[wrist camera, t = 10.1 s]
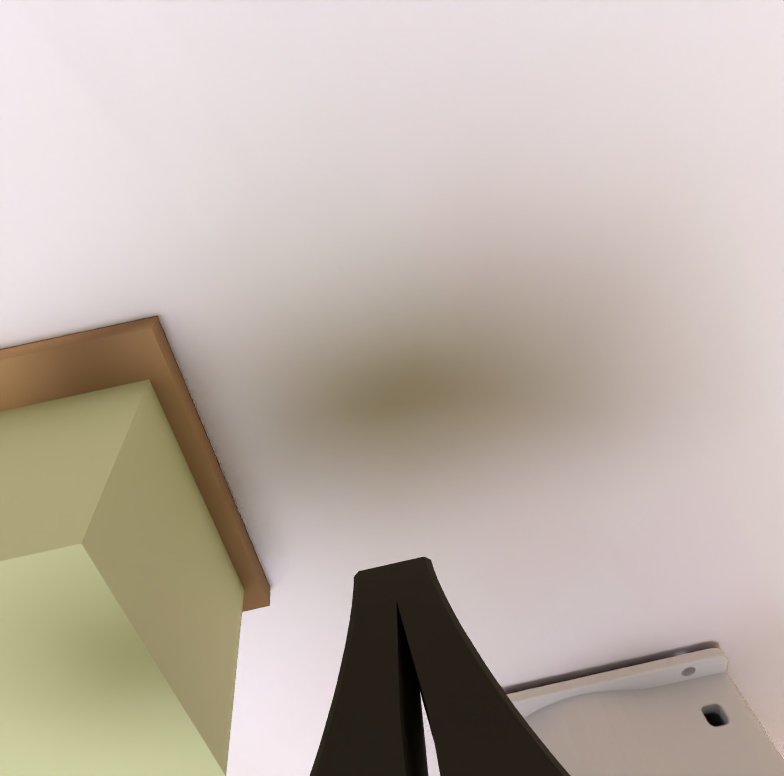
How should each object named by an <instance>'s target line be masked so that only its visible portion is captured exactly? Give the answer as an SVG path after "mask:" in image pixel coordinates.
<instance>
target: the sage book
mask: <svg viewBox="0 0 784 776" xmlns="http://www.w3.org/2000/svg"><path fill="white" fill-rule="evenodd" d="M243 596H244V589H243V586H242V584H241V582H240V580H239V577H238V575H237V573H236V571H235V569H234V566H233V564H232V562H231V560H230V557H229V555H228V553H227V551H226V549H225V546H224V544H223V542H222V540H221V538H220V535H219V533H218V531H217V529H216V526H215V524H214V522H213V520H212V518H211V515H210V513H209V511H208V509H207V506H206V504H205V502H204V500H203V498H202V495H201V493H200V491H199V489H198V487H197V484H196V482H195V480H194V478H193V475H192V473H191V471H190V469H189V467H188V464H187V462H186V460H185V458H184V455H183V453H182V451H181V449H180V447H179V444H178V442H177V440H176V438H175V435H174V433H173V431H172V429H171V427H170V424H169V422H168V420H167V418H166V416H165V413H164V411H163V409H162V407H161V404H160V402H159V400H158V398H157V396H156V393H155V391H154V389H153V387H152V384H151V382H150V380H149V379H148V380H144V381H139V382H134V383H130V384H125V385H121V386H116V387H111V388H107V389H102V390H98V391H93V392H88V393H84V394H79V395H75V396H70V397H65V398H61V399H56V400H52V401H47V402H42V403H38V404H33V405H29V406H24V407H19V408H15V409H10V410H6V411H1V412H0V776H226V770H227V760H228V750H229V740H230V729H231V719H232V709H233V699H234V689H235V678H236V668H237V658H238V648H239V637H240V627H241V617H242V607H243Z"/></svg>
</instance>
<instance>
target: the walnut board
mask: <svg viewBox="0 0 784 776" xmlns="http://www.w3.org/2000/svg"><path fill="white" fill-rule="evenodd" d="M148 379H149V380H150V382H151V384H152V387H153V389H154V391H155V393H156V396H157V398H158V400H159V402H160V404H161V407H162V409H163V411H164V413H165V416H166V418H167V420H168V422H169V424H170V427H171V429H172V431H173V433H174V435H175V438H176V440H177V442H178V444H179V447H180V449H181V451H182V453H183V455H184V458H185V460H186V462H187V464H188V467H189V469H190V471H191V473H192V475H193V478H194V480H195V482H196V484H197V487H198V489H199V491H200V493H201V495H202V498H203V500H204V502H205V504H206V506H207V509H208V511H209V513H210V515H211V518H212V520H213V522H214V524H215V526H216V529H217V531H218V533H219V535H220V538H221V540H222V542H223V544H224V546H225V549H226V551H227V553H228V555H229V557H230V560H231V562H232V564H233V566H234V569H235V571H236V573H237V575H238V577H239V580H240V582H241V584H242V586H243V589H244V596H243V607H242V612H243V611H248V610H252V609H257V608H261V607H266V606H270V587H269V585H268V582H267V580H266V577H265V575H264V573H263V570H262V568H261V565H260V563H259V561H258V558H257V556H256V553H255V551H254V548H253V546H252V544H251V541H250V539H249V536H248V534H247V532H246V529H245V527H244V524H243V522H242V520H241V517H240V515H239V512H238V510H237V508H236V505H235V503H234V500H233V498H232V496H231V493H230V491H229V488H228V486H227V484H226V481H225V479H224V476H223V474H222V471H221V469H220V467H219V464H218V462H217V459H216V457H215V455H214V452H213V450H212V447H211V445H210V443H209V440H208V438H207V435H206V433H205V431H204V428H203V426H202V423H201V421H200V419H199V416H198V414H197V411H196V409H195V407H194V404H193V402H192V399H191V397H190V394H189V392H188V390H187V387H186V385H185V382H184V380H183V378H182V375H181V373H180V370H179V368H178V366H177V363H176V361H175V358H174V356H173V354H172V351H171V349H170V346H169V344H168V342H167V339H166V337H165V334H164V332H163V330H162V327H161V325H160V322H159V320H158V317H157V316H156V317H151V318H147V319H142V320H137V321H133V322H128V323H123V324H119V325H114V326H109V327H105V328H100V329H95V330H91V331H86V332H81V333H77V334H72V335H67V336H63V337H58V338H53V339H49V340H44V341H39V342H35V343H30V344H26V345H21V346H16V347H12V348H7V349H2V350H0V412H1V411H6V410H10V409H15V408H19V407H24V406H29V405H33V404H38V403H42V402H47V401H52V400H56V399H61V398H65V397H70V396H75V395H79V394H84V393H88V392H93V391H98V390H102V389H107V388H111V387H116V386H121V385H125V384H130V383H134V382H139V381H144V380H148Z"/></svg>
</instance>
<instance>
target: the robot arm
mask: <svg viewBox="0 0 784 776" xmlns="http://www.w3.org/2000/svg"><path fill="white" fill-rule="evenodd" d="M727 666H728V658H727V656H726V655H725V653H724V652H723V651H722V650H721V649H719V648H709V649H705V650H700V651H696V652H691V653H687V654H682V655H678V656H674V657H669V658H665V659H660V660H656V661H651V662H647V663H643V664H638V665H634V666H629V667H625V668H621V669H616V670H612V671H607V672H603V673H598V674H594V675H590V676H585V677H581V678H576V679H572V680H567V681H563V682H559V683H554V684H550V685H545V686H541V687H537V688H532V689H528V690H523V691H519V692H514V693H510V694H506V693H505V692H504V690H503V689H502V688H501V686H500V685H499V683H498V682H497V681H496V679H495V678H494V676H493V675H492V673H491V672H490V670H489V669H488V667H487V666H486V664H485V663H484V661H483V660H482V658H481V657H480V655H479V653H478V652H477V650H476V649H475V647H474V645H473V644H472V642H471V641H470V639H469V637H468V636H467V634H466V633H465V631H464V629H463V628H462V626H461V624H460V622H459V621H458V619H457V617H456V615H455V613H454V612H453V610H452V608H451V606H450V604H449V602H448V600H447V598H446V596H445V594H444V592H443V590H442V588H441V586H440V583H439V581H438V579H437V576H436V574H435V571H434V568H433V565H432V562H431V560H430V559H428V558H426V557H420V558H416V559H411V560H407V561H402V562H398V563H394V564H389V565H385V566H380V567H376V568H371V569H367V570H362V571H359V572H358V573H357V574H356V575H355V576H354V589H353V599H352V608H351V615H350V622H349V628H348V633H347V639H346V644H345V649H344V654H343V658H342V663H341V667H340V672H339V676H338V681H337V685H336V689H335V693H334V697H333V700H332V704H331V707H330V711H329V714H328V718H327V721H326V725H325V729H324V732H323V736H322V739H321V742H320V746H319V749H318V752H317V755H316V758H315V761H314V764H313V767H312V770H311V773H310V776H428V768H427V757H426V747H425V737H424V727H423V717H422V706H421V697H420V692H421V696H422V700H423V703H424V707H425V710H426V714H427V718H428V721H429V725H430V729H431V732H432V736H433V739H434V743H435V748H436V753H437V759H438V765H439V770H440V776H784V760H783V758H782V757H781V755H780V754H779V752H778V751H777V749H776V748H775V746H774V744H773V743H772V741H771V740H770V738H769V737H768V735H767V734H766V732H765V731H764V729H763V727H762V726H761V724H760V723H759V721H758V720H757V718H756V717H755V715H754V714H753V712H752V710H751V709H750V707H749V706H748V704H747V703H746V701H745V700H744V698H743V697H742V695H741V693H740V692H739V690H738V689H737V687H736V686H735V684H734V683H733V681H732V680H731V678H730V676H729V675H728V673H726V671H727Z"/></svg>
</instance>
